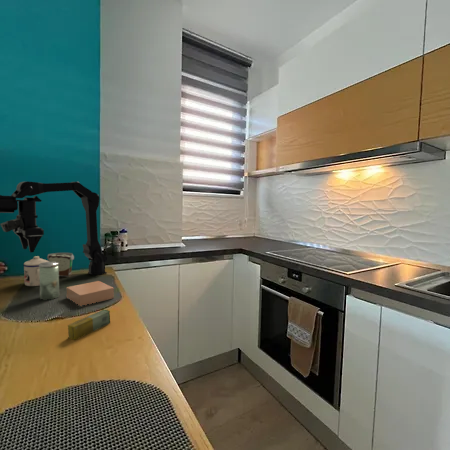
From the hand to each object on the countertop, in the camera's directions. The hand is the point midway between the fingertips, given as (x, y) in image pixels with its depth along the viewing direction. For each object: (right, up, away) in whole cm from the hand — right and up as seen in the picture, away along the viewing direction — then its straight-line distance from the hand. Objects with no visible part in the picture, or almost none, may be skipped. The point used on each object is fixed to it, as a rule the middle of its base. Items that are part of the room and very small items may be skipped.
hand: (28, 250), depth 112 cm
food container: (+3, -13, +20) cm, 24 cm away
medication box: (+42, -20, -34) cm, 58 cm away
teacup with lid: (+1, -15, +4) cm, 15 cm away
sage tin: (+16, -16, -11) cm, 25 cm away
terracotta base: (+30, -17, -10) cm, 36 cm away
